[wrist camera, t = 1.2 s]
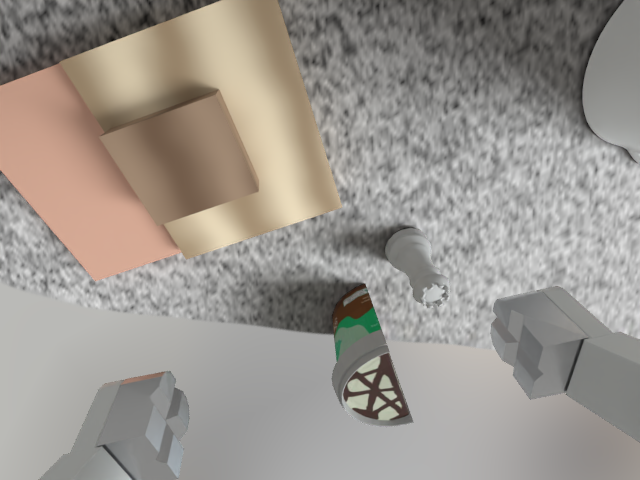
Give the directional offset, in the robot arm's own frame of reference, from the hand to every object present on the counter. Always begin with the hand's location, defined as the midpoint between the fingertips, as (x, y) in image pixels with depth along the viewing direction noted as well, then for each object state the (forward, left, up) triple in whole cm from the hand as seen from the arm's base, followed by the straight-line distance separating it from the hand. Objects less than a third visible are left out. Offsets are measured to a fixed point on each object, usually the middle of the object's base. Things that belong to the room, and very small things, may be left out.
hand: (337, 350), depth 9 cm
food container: (+1, +23, -24) cm, 33 cm away
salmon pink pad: (+17, -1, -24) cm, 29 cm away
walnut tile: (+8, -1, -20) cm, 22 cm away
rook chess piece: (-7, +15, -24) cm, 29 cm away
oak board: (+5, -1, -23) cm, 24 cm away
